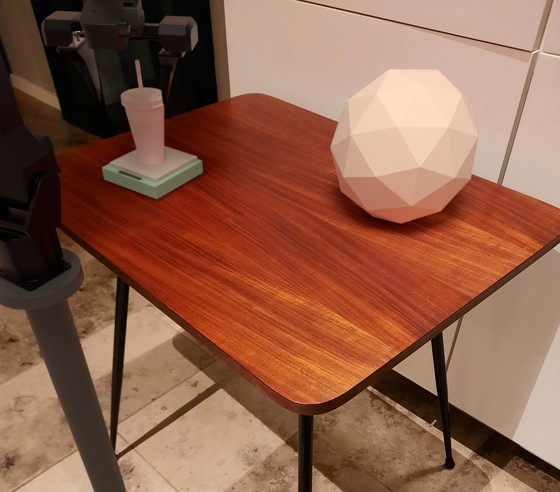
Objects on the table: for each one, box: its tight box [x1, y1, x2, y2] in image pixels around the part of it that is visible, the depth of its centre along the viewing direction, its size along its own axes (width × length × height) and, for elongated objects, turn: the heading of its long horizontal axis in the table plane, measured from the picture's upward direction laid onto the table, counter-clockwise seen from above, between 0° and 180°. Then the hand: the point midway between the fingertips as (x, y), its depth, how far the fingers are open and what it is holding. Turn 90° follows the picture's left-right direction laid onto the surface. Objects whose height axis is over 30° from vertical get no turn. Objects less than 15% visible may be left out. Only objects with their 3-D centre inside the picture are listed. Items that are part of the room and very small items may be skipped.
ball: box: [330, 68, 479, 224], centre depth 76 cm, size 19×20×20 cm
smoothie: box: [120, 59, 165, 166], centre depth 82 cm, size 6×6×14 cm
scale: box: [101, 145, 204, 200], centre depth 88 cm, size 11×11×3 cm
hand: (132, 102), depth 77 cm, fingers open, 9 cm apart
